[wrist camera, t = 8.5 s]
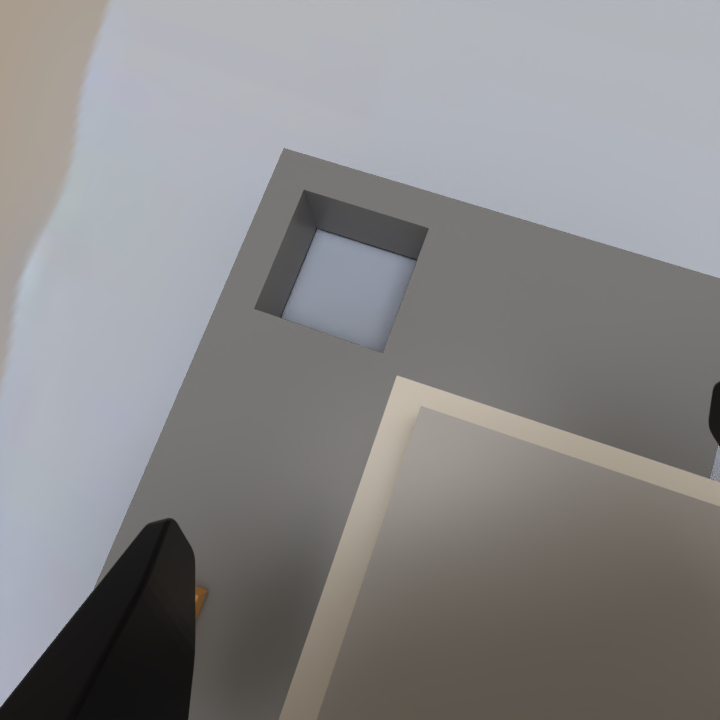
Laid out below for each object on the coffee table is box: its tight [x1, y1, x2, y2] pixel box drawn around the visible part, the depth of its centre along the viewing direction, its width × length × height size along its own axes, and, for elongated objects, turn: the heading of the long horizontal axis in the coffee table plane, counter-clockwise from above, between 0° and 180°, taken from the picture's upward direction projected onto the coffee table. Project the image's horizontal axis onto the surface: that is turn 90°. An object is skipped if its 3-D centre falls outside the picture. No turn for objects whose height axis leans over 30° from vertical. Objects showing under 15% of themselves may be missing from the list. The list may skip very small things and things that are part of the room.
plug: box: [279, 376, 720, 720], centre depth 10 cm, size 3×3×13 cm
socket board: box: [94, 148, 720, 720], centre depth 18 cm, size 18×16×4 cm
